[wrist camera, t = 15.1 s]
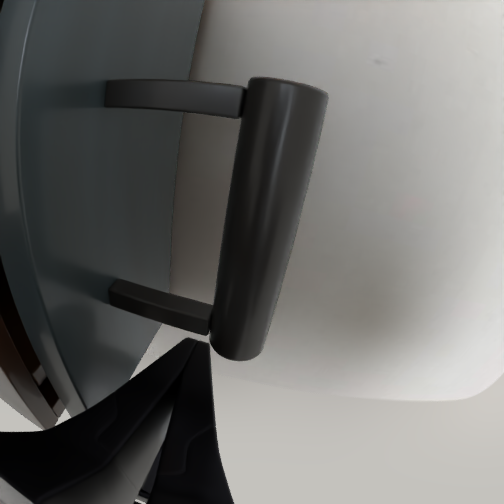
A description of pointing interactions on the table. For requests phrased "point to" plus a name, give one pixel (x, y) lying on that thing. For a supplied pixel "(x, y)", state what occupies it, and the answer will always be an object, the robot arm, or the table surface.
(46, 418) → the cabinet
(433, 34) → the table surface
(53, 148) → the drawer
